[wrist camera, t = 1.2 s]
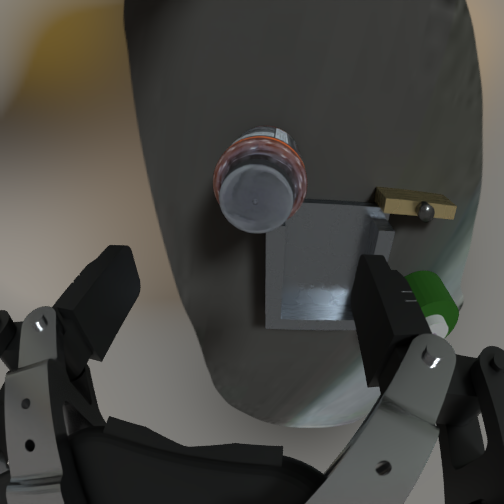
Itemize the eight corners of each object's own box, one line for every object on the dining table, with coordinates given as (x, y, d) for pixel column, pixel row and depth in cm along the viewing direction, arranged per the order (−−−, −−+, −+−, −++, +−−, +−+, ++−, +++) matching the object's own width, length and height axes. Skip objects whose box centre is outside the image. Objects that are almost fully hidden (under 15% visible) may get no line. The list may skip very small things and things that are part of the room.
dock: (266, 197, 26) (264, 212, 23) (387, 204, 25) (399, 219, 22) (265, 308, 34) (263, 329, 31) (361, 310, 33) (367, 330, 30)
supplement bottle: (298, 188, 26) (307, 254, 16) (234, 186, 26) (204, 249, 16) (301, 125, 22) (316, 150, 13) (232, 123, 23) (195, 147, 13)
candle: (375, 318, 33) (392, 382, 25) (400, 266, 29) (431, 330, 20) (424, 321, 33) (447, 378, 25) (451, 274, 29) (486, 331, 20)
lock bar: (376, 185, 24) (390, 201, 21) (443, 194, 24) (462, 209, 20) (374, 201, 25) (387, 218, 22) (439, 207, 24) (457, 225, 21)
